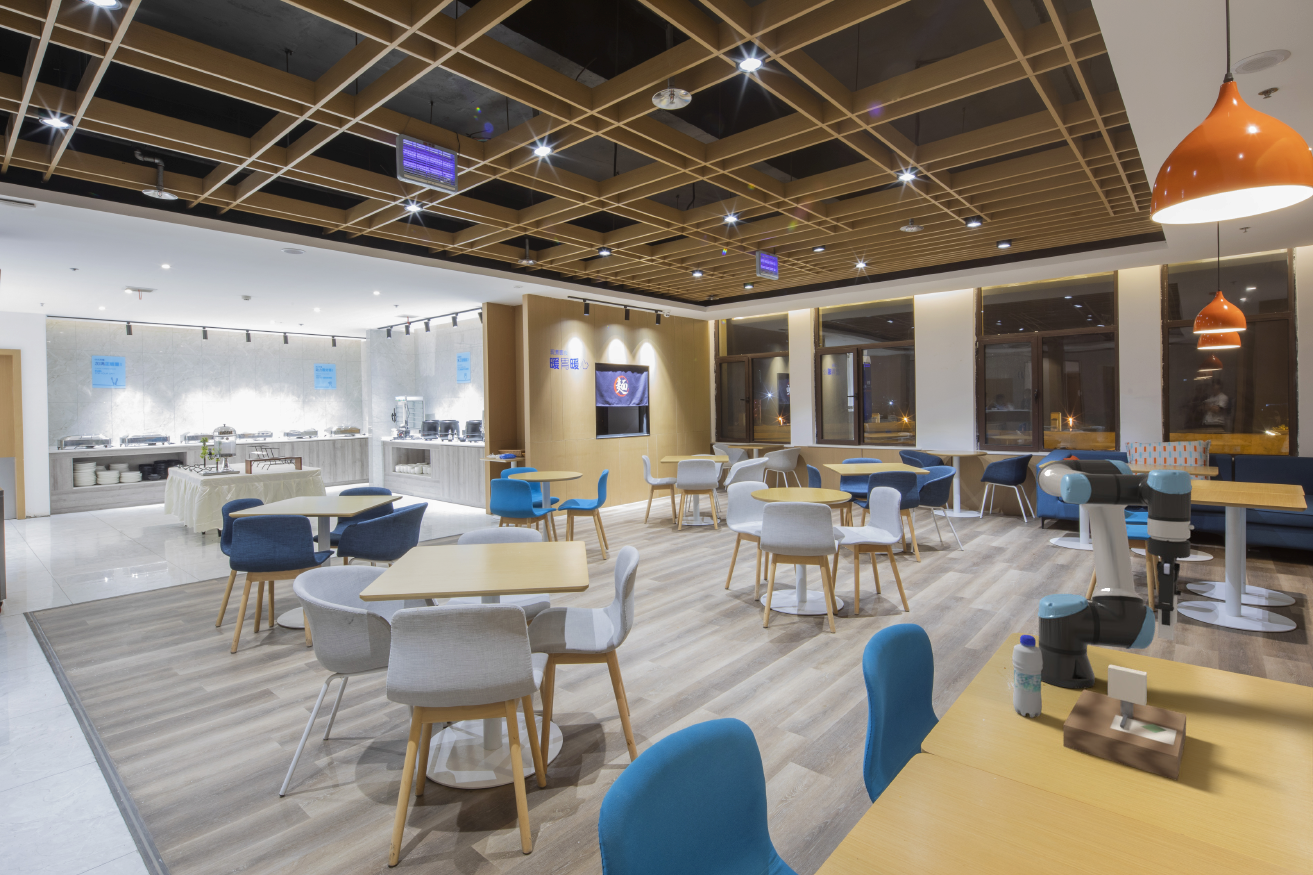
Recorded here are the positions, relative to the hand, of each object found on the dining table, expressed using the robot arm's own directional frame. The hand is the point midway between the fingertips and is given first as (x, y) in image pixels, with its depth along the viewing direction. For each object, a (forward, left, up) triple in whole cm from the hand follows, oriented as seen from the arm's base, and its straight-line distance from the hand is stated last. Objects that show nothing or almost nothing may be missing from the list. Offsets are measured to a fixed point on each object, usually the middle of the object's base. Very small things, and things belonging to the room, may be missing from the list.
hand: (1167, 630), depth 142 cm
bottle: (-27, -5, -26) cm, 38 cm away
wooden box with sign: (-7, -5, -26) cm, 27 cm away
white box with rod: (-7, -7, -21) cm, 23 cm away
